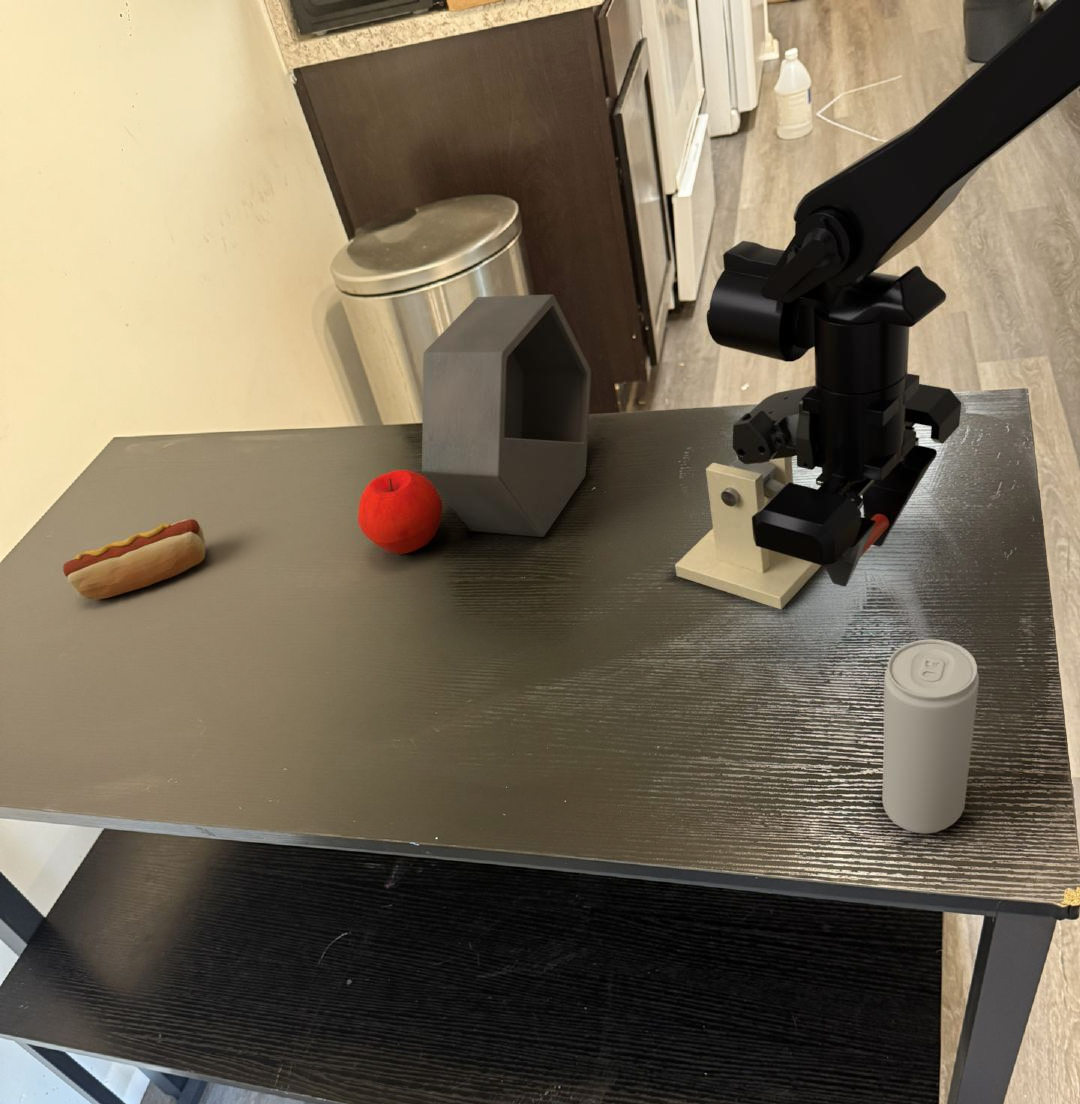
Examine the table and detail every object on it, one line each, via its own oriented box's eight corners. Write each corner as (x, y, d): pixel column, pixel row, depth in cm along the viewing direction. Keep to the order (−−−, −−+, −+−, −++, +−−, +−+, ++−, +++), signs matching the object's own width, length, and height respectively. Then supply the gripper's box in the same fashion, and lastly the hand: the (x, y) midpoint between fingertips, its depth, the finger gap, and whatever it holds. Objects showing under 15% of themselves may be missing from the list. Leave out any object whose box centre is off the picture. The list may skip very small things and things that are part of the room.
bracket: (840, 545, 82) (838, 438, 75) (781, 610, 78) (773, 504, 71) (736, 517, 88) (725, 416, 81) (676, 576, 84) (660, 475, 77)
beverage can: (970, 786, 63) (987, 643, 55) (956, 846, 60) (972, 705, 52) (890, 772, 65) (894, 632, 57) (873, 829, 62) (875, 691, 54)
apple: (408, 580, 92) (382, 513, 87) (356, 557, 97) (328, 492, 92) (469, 533, 96) (447, 465, 90) (415, 512, 100) (391, 447, 95)
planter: (496, 542, 85) (505, 277, 79) (420, 535, 88) (423, 281, 83) (583, 532, 99) (595, 308, 94) (515, 527, 103) (522, 310, 97)
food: (83, 616, 100) (55, 577, 97) (86, 587, 104) (59, 548, 101) (216, 569, 101) (193, 528, 98) (214, 541, 105) (192, 501, 102)
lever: (884, 536, 76) (894, 513, 74) (850, 574, 74) (859, 551, 72) (749, 464, 80) (755, 440, 78) (714, 498, 78) (719, 474, 76)
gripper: (823, 293, 74) (825, 475, 85) (675, 422, 66) (699, 605, 77) (973, 311, 67) (955, 506, 78) (829, 457, 59) (831, 651, 70)
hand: (858, 563), depth 76 cm, fingers closed on lever, 5 cm apart
